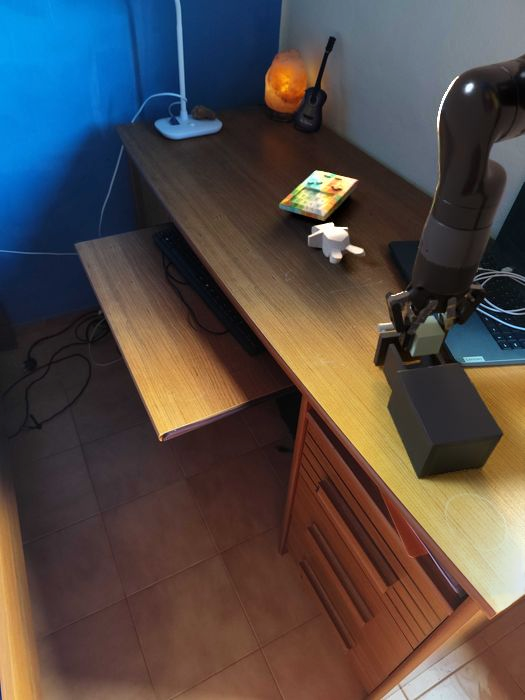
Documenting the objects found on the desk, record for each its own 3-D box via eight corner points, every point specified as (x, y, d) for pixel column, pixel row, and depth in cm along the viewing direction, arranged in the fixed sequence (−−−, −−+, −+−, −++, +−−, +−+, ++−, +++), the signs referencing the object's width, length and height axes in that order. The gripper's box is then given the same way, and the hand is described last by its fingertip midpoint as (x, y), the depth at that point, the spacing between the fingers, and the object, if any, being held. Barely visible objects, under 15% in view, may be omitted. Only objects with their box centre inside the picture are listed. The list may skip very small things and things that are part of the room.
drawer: (365, 344, 82) (371, 315, 77) (411, 338, 83) (419, 309, 78) (397, 416, 71) (406, 388, 66) (449, 408, 72) (462, 380, 67)
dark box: (386, 406, 73) (396, 371, 67) (444, 398, 74) (459, 362, 68) (417, 478, 65) (432, 445, 59) (482, 468, 66) (504, 434, 59)
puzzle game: (358, 176, 117) (323, 212, 105) (356, 194, 120) (322, 230, 109) (317, 166, 121) (279, 200, 110) (316, 183, 125) (279, 218, 113)
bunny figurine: (338, 214, 106) (371, 241, 95) (337, 235, 109) (369, 264, 98) (300, 222, 104) (329, 251, 93) (300, 243, 107) (328, 273, 96)
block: (427, 334, 71) (433, 315, 68) (438, 353, 68) (445, 334, 66) (402, 338, 71) (407, 318, 68) (412, 357, 68) (418, 337, 65)
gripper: (407, 272, 54) (383, 370, 66) (521, 258, 55) (477, 356, 68) (385, 237, 59) (366, 333, 71) (490, 225, 60) (454, 322, 73)
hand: (420, 344), depth 69 cm, fingers closed on block, 4 cm apart
